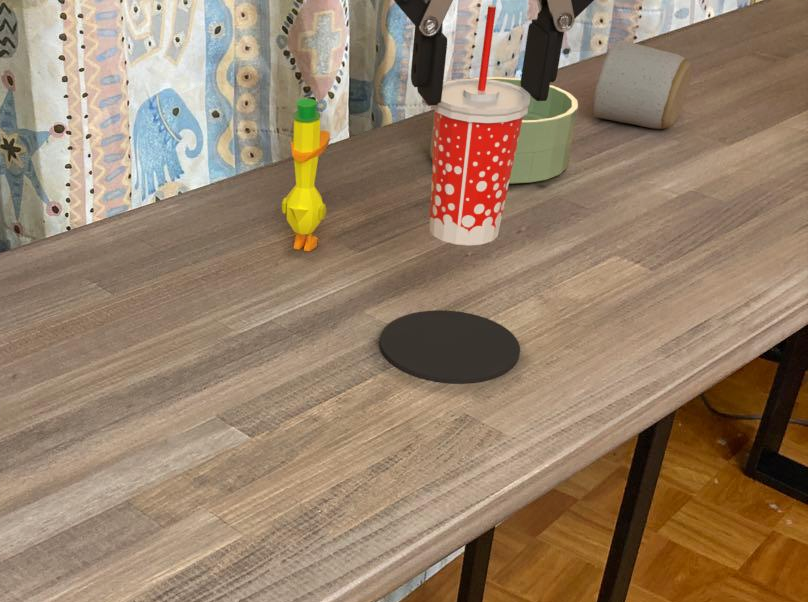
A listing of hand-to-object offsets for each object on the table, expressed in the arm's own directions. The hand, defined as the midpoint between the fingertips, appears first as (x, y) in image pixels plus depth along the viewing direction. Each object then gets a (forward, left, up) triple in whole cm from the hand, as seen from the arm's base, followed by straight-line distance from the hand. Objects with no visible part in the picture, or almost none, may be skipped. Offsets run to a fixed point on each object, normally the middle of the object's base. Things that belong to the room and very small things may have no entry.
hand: (481, 93), depth 70 cm
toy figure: (+13, -15, -18) cm, 27 cm away
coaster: (0, 0, -18) cm, 18 cm away
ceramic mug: (-16, -54, -18) cm, 59 cm away
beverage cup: (0, 0, -9) cm, 9 cm away
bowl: (-2, -38, -18) cm, 42 cm away
